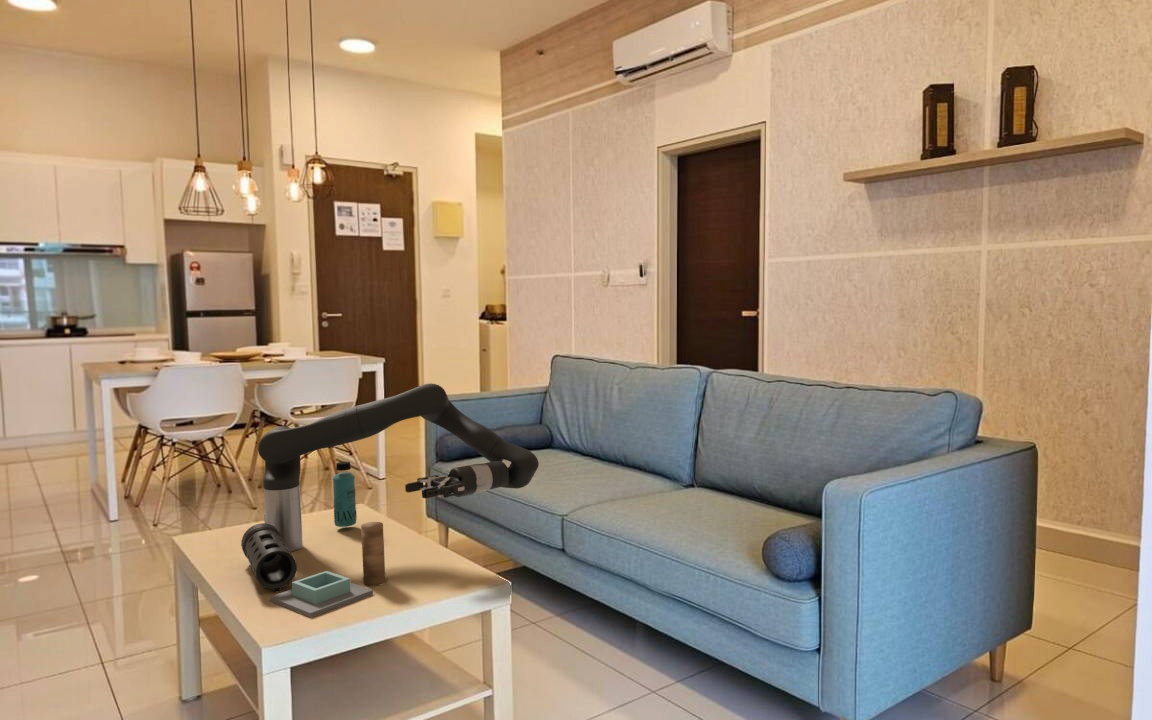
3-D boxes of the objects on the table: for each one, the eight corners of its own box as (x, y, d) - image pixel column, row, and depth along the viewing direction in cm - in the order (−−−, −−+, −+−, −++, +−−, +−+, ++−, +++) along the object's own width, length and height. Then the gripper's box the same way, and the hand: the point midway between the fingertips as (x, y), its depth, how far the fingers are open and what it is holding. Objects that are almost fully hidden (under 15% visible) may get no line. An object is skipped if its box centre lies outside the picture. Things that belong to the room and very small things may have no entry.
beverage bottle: (330, 531, 227) (327, 464, 225) (340, 525, 233) (337, 459, 232) (351, 532, 226) (348, 464, 224) (361, 525, 232) (358, 459, 231)
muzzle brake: (255, 598, 177) (253, 553, 176) (241, 563, 201) (239, 524, 200) (299, 589, 181) (297, 546, 180) (280, 556, 206) (278, 518, 205)
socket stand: (269, 601, 174) (269, 583, 174) (331, 580, 187) (330, 563, 186) (310, 617, 164) (309, 599, 164) (372, 594, 177) (372, 577, 176)
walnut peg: (359, 583, 184) (356, 525, 183) (376, 577, 188) (374, 520, 187) (372, 587, 181) (369, 529, 180) (389, 581, 185) (387, 523, 184)
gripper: (455, 461, 205) (399, 471, 195) (485, 469, 194) (427, 480, 184) (456, 489, 206) (401, 501, 196) (486, 498, 195) (429, 511, 185)
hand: (414, 491), depth 190 cm, fingers open, 8 cm apart
